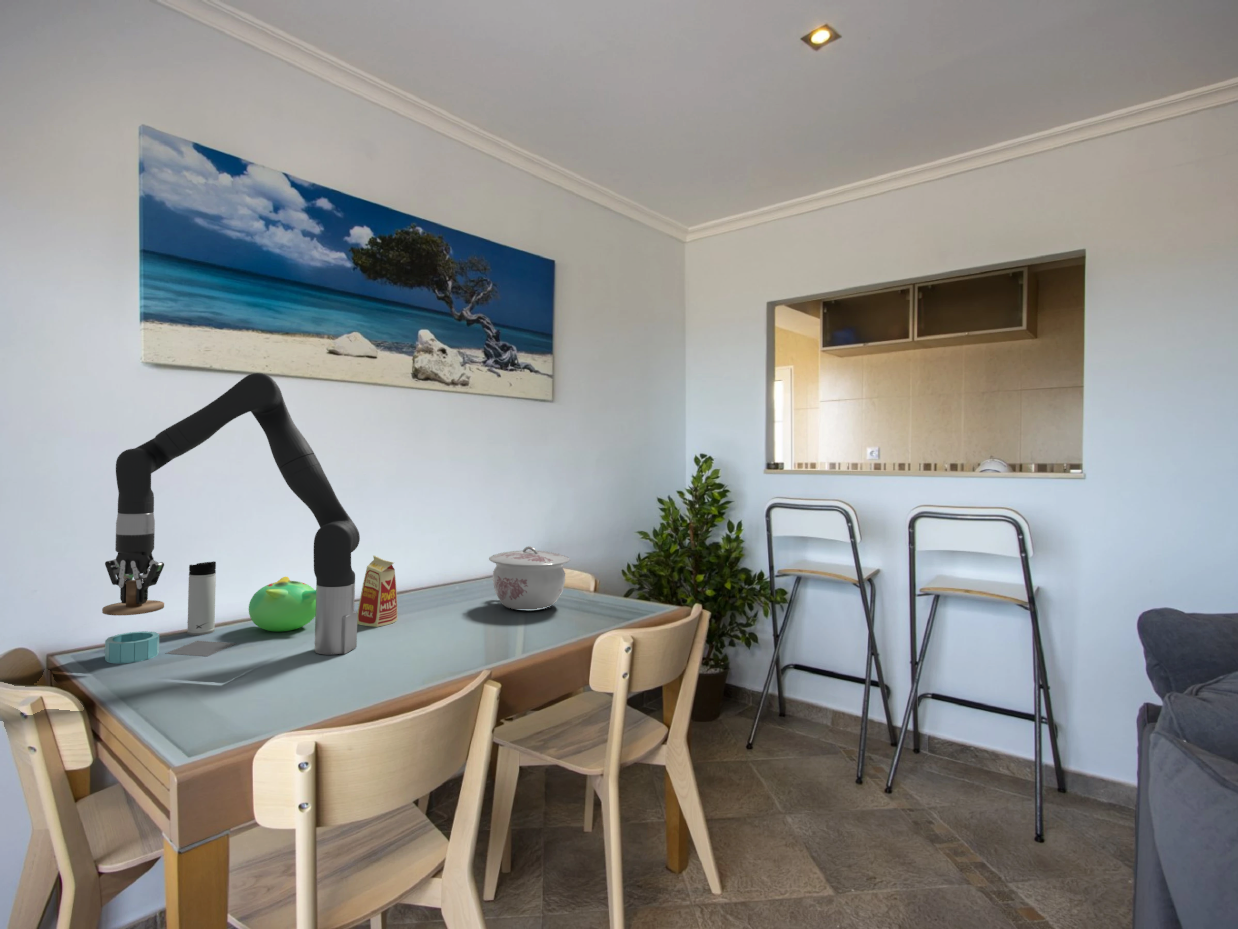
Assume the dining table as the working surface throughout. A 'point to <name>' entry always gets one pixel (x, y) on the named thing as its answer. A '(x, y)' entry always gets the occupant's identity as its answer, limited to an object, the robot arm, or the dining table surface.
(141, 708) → the dining table surface
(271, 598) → the toy bird
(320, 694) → the dining table surface
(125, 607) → the lid
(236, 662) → the dining table surface
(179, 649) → the mat
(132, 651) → the bowl
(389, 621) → the milk carton
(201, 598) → the travel mug
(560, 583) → the chamber pot
